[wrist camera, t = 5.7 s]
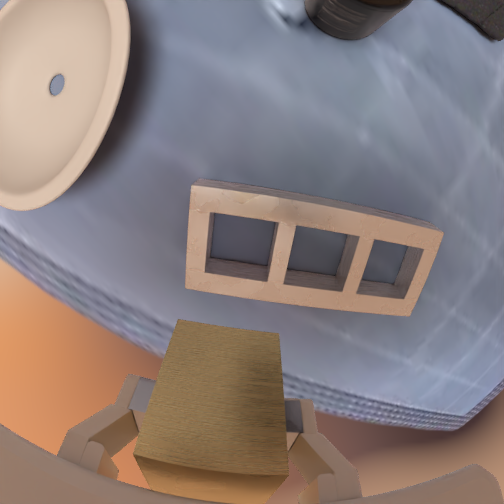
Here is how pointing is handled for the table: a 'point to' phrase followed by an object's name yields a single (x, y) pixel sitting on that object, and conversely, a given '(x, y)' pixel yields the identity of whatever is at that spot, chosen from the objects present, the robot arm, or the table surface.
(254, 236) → the table surface
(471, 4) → the dark slate chunk
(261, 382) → the golden yellow block
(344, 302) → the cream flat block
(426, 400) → the table surface
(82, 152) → the soup bowl
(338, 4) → the supplement bottle
